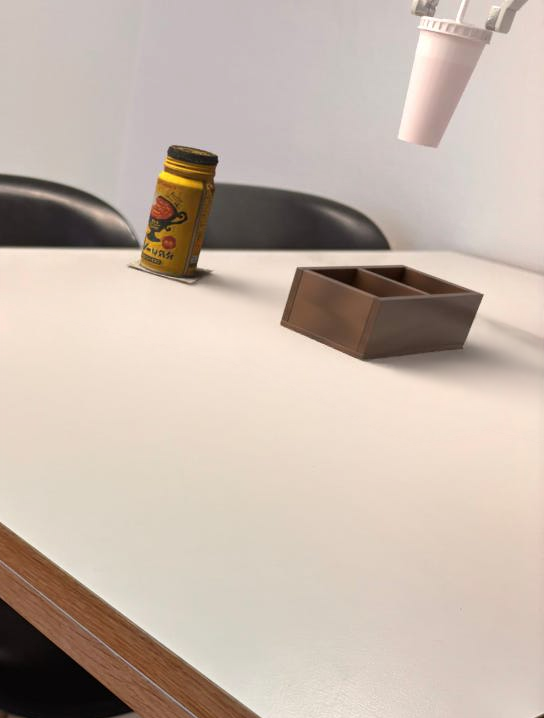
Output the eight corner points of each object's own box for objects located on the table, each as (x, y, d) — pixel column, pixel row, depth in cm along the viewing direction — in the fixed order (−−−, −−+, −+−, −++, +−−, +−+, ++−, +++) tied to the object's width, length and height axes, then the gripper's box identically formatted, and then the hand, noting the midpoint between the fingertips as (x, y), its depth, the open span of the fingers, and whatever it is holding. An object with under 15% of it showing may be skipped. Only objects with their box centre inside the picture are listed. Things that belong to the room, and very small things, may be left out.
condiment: (125, 266, 112) (151, 143, 106) (152, 255, 119) (178, 139, 113) (189, 285, 110) (220, 161, 104) (213, 273, 117) (243, 156, 111)
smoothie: (383, 137, 96) (442, -45, 89) (382, 132, 101) (437, -40, 94) (454, 154, 95) (519, -28, 88) (449, 147, 101) (509, -24, 93)
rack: (463, 347, 110) (484, 294, 107) (361, 360, 98) (382, 300, 95) (384, 316, 115) (402, 264, 112) (279, 324, 103) (296, 266, 100)
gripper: (662, -151, 82) (582, 50, 89) (436, -171, 94) (382, 9, 101) (629, -171, 78) (549, 41, 85) (397, -189, 90) (344, -1, 97)
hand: (457, 23), depth 93 cm, fingers closed on smoothie, 6 cm apart
